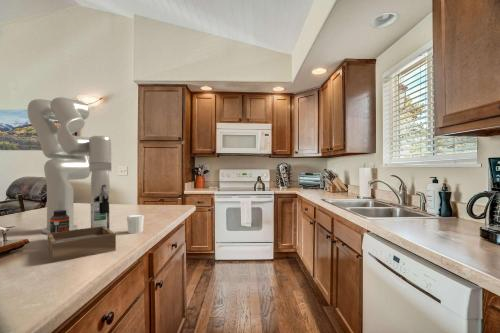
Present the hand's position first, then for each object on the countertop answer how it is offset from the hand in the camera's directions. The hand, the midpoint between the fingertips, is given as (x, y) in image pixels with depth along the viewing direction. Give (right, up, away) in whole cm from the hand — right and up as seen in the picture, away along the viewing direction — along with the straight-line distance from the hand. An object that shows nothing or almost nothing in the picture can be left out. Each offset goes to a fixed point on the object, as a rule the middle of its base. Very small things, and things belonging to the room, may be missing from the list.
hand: (101, 211), depth 102 cm
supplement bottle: (-15, -11, -2) cm, 18 cm away
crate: (+1, -10, -14) cm, 17 cm away
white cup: (+8, -11, +11) cm, 18 cm away
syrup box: (-1, -11, 0) cm, 11 cm away
